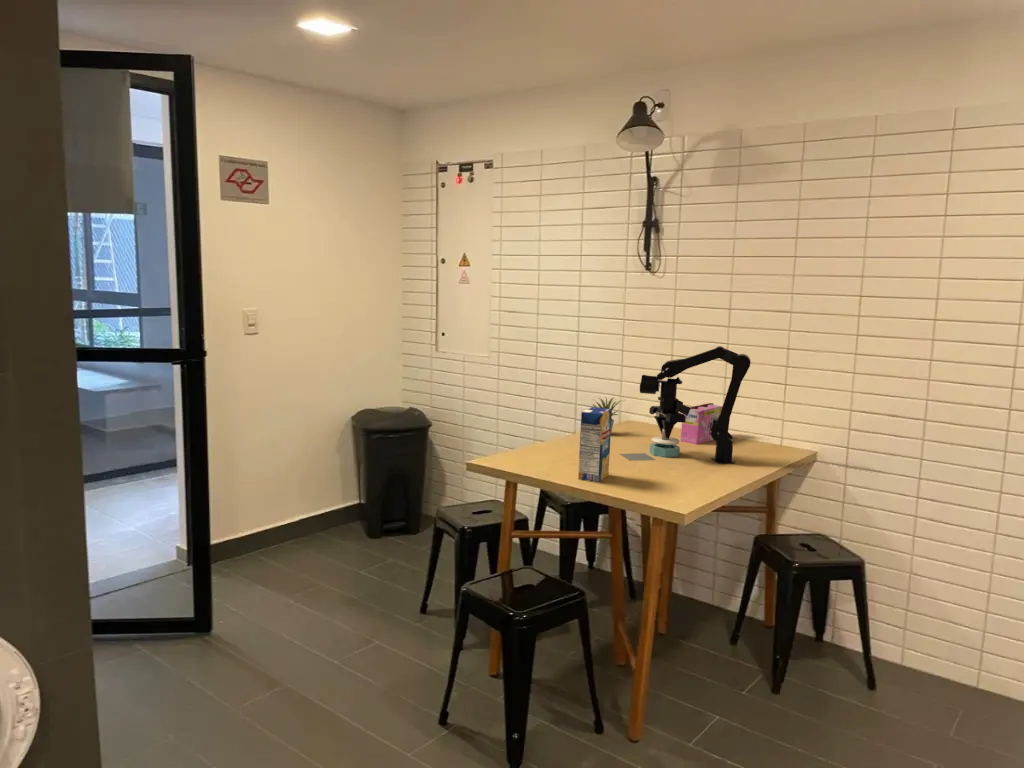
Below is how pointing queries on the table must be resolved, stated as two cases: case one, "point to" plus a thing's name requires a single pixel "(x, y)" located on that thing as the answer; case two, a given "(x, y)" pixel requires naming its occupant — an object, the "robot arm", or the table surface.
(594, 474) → the beverage box
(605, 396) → the house plant
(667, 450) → the bowl
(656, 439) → the lid
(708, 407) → the gum box
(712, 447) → the table surface
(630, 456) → the mat
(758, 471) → the table surface
